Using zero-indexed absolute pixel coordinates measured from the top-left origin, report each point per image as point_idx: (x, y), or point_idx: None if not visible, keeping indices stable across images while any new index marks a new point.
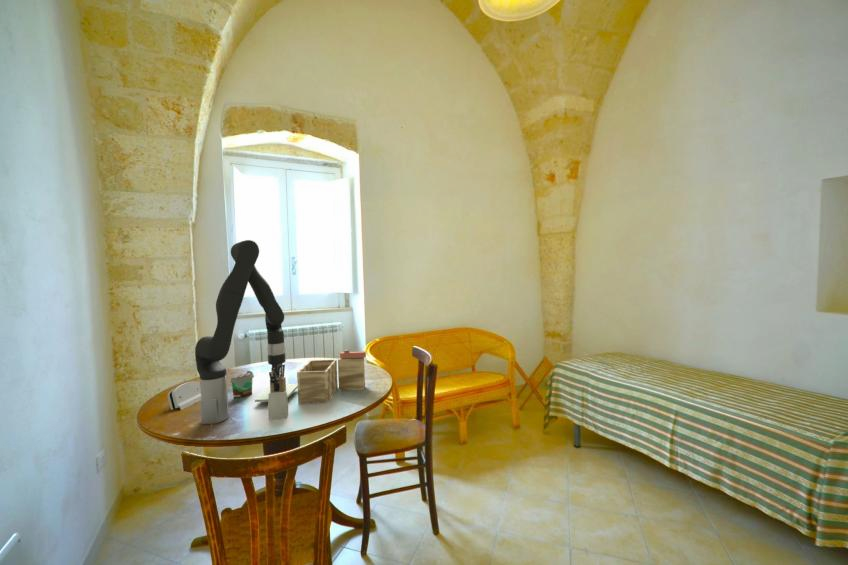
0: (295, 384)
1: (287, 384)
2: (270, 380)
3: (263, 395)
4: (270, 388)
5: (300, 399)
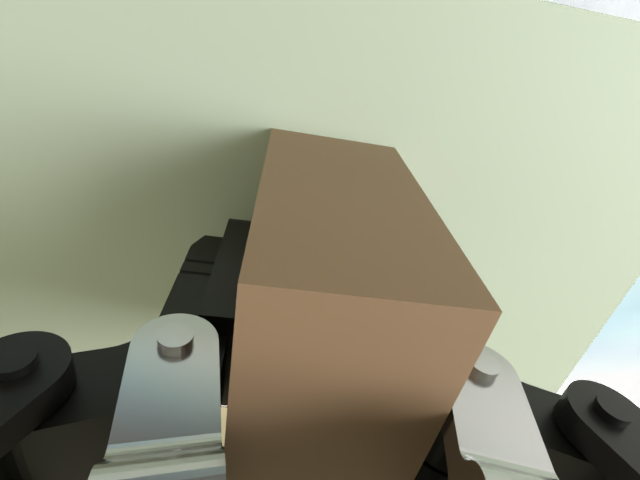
0: (539, 386)
1: (602, 305)
2: (243, 281)
3: (110, 14)
4: (266, 159)
5: None
